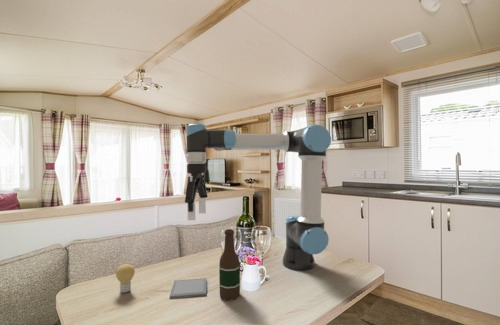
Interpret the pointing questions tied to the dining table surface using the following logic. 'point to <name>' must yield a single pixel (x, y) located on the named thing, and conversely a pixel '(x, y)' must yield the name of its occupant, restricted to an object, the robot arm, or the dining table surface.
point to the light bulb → (125, 277)
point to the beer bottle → (229, 269)
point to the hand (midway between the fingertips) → (197, 216)
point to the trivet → (189, 288)
